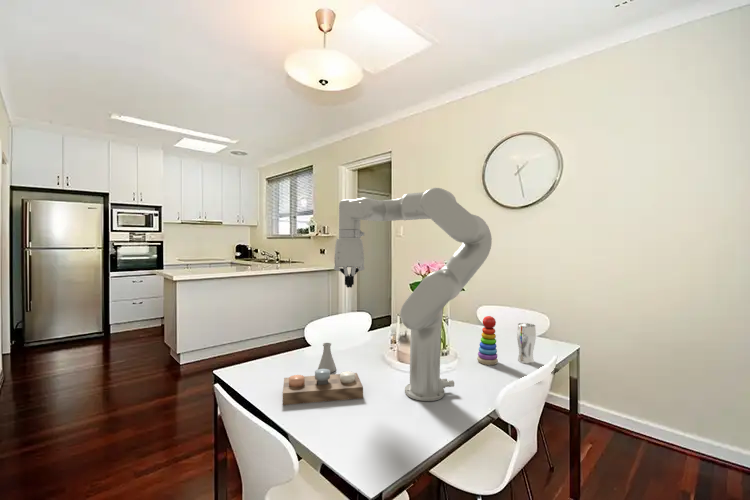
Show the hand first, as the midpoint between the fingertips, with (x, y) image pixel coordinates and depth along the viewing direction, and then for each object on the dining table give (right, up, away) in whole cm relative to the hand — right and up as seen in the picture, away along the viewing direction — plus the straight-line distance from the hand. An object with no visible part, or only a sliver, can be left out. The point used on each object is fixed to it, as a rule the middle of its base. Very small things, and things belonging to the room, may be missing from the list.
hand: (349, 286), depth 127 cm
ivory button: (0, -32, -11) cm, 34 cm away
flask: (-9, -32, +7) cm, 34 cm away
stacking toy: (+54, -32, +18) cm, 66 cm away
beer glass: (+70, -33, +19) cm, 80 cm away
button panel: (-8, -32, -13) cm, 36 cm away
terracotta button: (-15, -32, -15) cm, 39 cm away
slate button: (-8, -31, -13) cm, 34 cm away
